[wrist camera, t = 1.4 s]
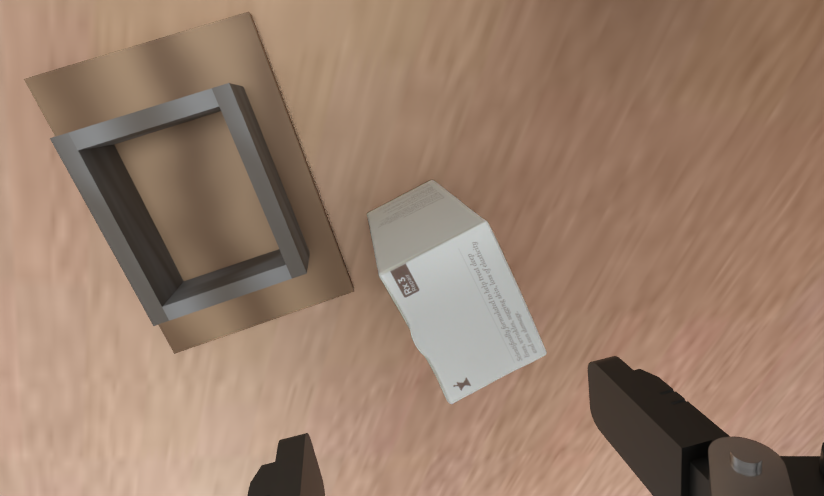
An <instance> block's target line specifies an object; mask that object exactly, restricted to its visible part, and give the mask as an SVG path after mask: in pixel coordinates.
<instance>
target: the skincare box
mask: <svg viewBox="0 0 824 496" xmlns="http://www.w3.org/2000/svg"><path fill="white" fill-rule="evenodd" d="M367 217H368V222H369V227H370V232H371V237H372V242H373V247H374V253H375V258H376V264H377V268H378V273H379V277H380V279H381V280H382V282H383V284H384V285H385V287H386V289H387V291H388V292H389V294H390V296H391V297H392V299H393V301H394V303H395V304H396V306H397V308H398V309H399V311H400V313H401V315H402V317H403V318H404V320H405V322H406V324H407V325H408V327H409V329H410V331H411V336H412V339H413V342H414V344H415V346H416V347H417V349H418V350H419V351H420V353H422V354H423V355H424V356H425V358H426V359H427V361H428V363H429V365H430V366H431V368H432V370H433V372H434V374H435V376H436V378H437V380H438V382H439V384H440V386H441V388H442V391H443V393H444V395H445V397H446V399H447V401H448V402H449V403H450V404H453V403H455V402H457V401H459V400H460V399H462V398H464V397H466V396H468V395H470V394H472V393H474V392H475V391H477V390H479V389H481V388H483V387H485V386H487V385H488V384H490V383H492V382H494V381H496V380H498V379H499V378H501V377H503V376H505V375H507V374H509V373H511V372H513V371H515V370H517V369H519V368H521V367H523V366H525V365H527V364H530V363H532V362H534V361H535V360H537V359H539V358H541V357H543V356H545V355H546V350H545V347H544V345H543V343H542V340H541V338H540V335H539V333H538V331H537V328H536V326H535V324H534V321H533V319H532V317H531V314H530V312H529V310H528V307H527V305H526V303H525V301H524V298H523V296H522V294H521V292H520V289H519V287H518V285H517V283H516V281H515V279H514V276H513V274H512V272H511V270H510V268H509V266H508V263H507V261H506V259H505V257H504V255H503V252H502V250H501V248H500V246H499V244H498V242H497V240H496V238H495V235H494V233H493V231H492V229H491V227H490V225H489V224H488V222H487V221H486V220H484V219H483V218H482V217H480V216H479V215H478V214H476V213H475V212H474V211H472V210H471V209H469V208H468V207H467V206H466V205H465V204H463V203H462V202H461V201H460V200H459V199H457V198H456V197H455V196H453V195H452V194H451V193H450V192H448V191H447V190H446V189H445V188H443V187H442V186H441V185H439V184H438V183H437V182H435V181H434V180H430V181H428V182H426V183H424V184H422V185H420V186H419V187H417V188H415V189H413V190H411V191H409V192H407V193H405V194H403V195H401V196H399V197H397V198H395V199H394V200H392V201H390V202H388V203H386V204H384V205H382V206H380V207H378V208H376V209H374V210H372V211H370V212H368V213H367Z"/></svg>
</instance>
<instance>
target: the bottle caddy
mask: <svg viewBox="0 0 824 496" xmlns="http://www.w3.org/2000/svg"><path fill="white" fill-rule="evenodd" d="M24 80H25V82H26V84H27V86H28V87H29V89H30V91H31V93H32V95H33V97H34V98H35V100H36V102H37V104H38V106H39V107H40V109H41V111H42V113H43V115H44V117H45V118H46V120H47V122H48V124H49V126H50V128H51V129H52V131H53V133H54V135H55V137H53V138H50V139H51V141H52V143H53V145H54V147H55V148H56V150H57V152H58V154H59V156H60V157H61V159H62V161H63V163H64V165H65V167H66V168H67V170H68V172H69V174H70V176H71V177H72V179H73V181H74V183H75V185H76V186H77V188H78V190H79V192H80V194H81V195H82V197H83V199H84V201H85V203H86V205H87V206H88V208H89V210H90V212H91V214H92V215H93V217H94V219H95V221H96V223H97V224H98V226H99V228H100V230H101V232H102V233H103V235H104V237H105V239H106V241H107V243H108V244H109V246H110V248H111V250H112V252H113V253H114V255H115V257H116V259H117V261H118V262H119V264H120V266H121V268H122V270H123V271H124V273H125V275H126V277H127V279H128V280H129V282H130V284H131V286H132V288H133V290H134V291H135V293H136V295H137V297H138V299H139V300H140V302H141V304H142V306H143V308H144V309H145V311H146V313H147V315H148V317H149V318H150V320H151V322H152V324H153V326H155V325H159V326H160V328H161V330H162V332H163V334H164V336H165V337H166V339H167V341H168V343H169V345H170V346H171V348H172V350H173V352H174V354H175V353H178V352H181V351H184V350H186V349H189V348H192V347H195V346H198V345H201V344H204V343H207V342H209V341H212V340H215V339H218V338H221V337H224V336H227V335H230V334H232V333H235V332H238V331H241V330H244V329H247V328H250V327H253V326H255V325H258V324H261V323H264V322H267V321H270V320H273V319H276V318H279V317H281V316H284V315H287V314H290V313H293V312H296V311H299V310H302V309H304V308H307V307H310V306H313V305H316V304H319V303H322V302H325V301H327V300H330V299H333V298H336V297H339V296H342V295H345V294H348V293H350V292H353V291H354V289H353V285H352V282H351V279H350V277H349V274H348V271H347V269H346V266H345V263H344V261H343V258H342V255H341V253H340V250H339V247H338V245H337V242H336V239H335V237H334V234H333V231H332V229H331V226H330V223H329V221H328V218H327V215H326V213H325V210H324V207H323V205H322V202H321V199H320V197H319V194H318V191H317V189H316V186H315V183H314V181H313V178H312V175H311V173H310V170H309V167H308V165H307V162H306V159H305V157H304V154H303V151H302V149H301V146H300V143H299V141H298V138H297V135H296V133H295V130H294V127H293V125H292V122H291V119H290V117H289V114H288V111H287V109H286V106H285V103H284V101H283V98H282V95H281V93H280V90H279V87H278V85H277V82H276V79H275V77H274V74H273V71H272V69H271V66H270V63H269V61H268V58H267V55H266V53H265V50H264V47H263V45H262V42H261V39H260V37H259V34H258V31H257V29H256V26H255V23H254V21H253V18H252V15H251V14H250V13H249V12H246V13H243V14H239V15H236V16H233V17H229V18H226V19H223V20H219V21H216V22H213V23H209V24H206V25H203V26H199V27H196V28H193V29H189V30H186V31H183V32H179V33H176V34H173V35H169V36H166V37H163V38H159V39H156V40H153V41H149V42H146V43H143V44H139V45H136V46H133V47H129V48H126V49H123V50H119V51H116V52H113V53H109V54H106V55H103V56H99V57H96V58H93V59H89V60H86V61H83V62H79V63H76V64H73V65H69V66H66V67H63V68H59V69H56V70H53V71H49V72H46V73H42V74H39V75H36V76H32V77H29V78H26V79H24Z"/></svg>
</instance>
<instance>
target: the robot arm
mask: <svg viewBox="0 0 824 496" xmlns="http://www.w3.org/2000/svg"><path fill="white" fill-rule="evenodd" d="M588 381H589V398H590V410H591V414H592V417H593V419H594V422H595V424H596V426H597V427H598V429H599V430H600V431H601V433H602V434H603V435H604V436H605V438H606V439H607V440H608V441H609V442H610V444H611V445H612V446H613V447H614V449H615V450H616V451H617V452H618V453H619V455H620V456H621V457H622V458H623V460H624V461H625V462H626V463H627V464H628V466H629V467H630V468H631V469H632V470H633V472H634V473H635V474H636V475H637V477H638V478H639V479H640V480H641V481H642V483H643V484H644V485H645V486H646V488H647V489H648V490H649V491H650V492H651V494H652V495H653V496H824V443H823V445H822V449H821V456H779V455H778V454H777V453H776V452H774V451H773V450H772V449H770V448H769V447H767V446H765V445H763V444H761V443H759V442H756V441H754V440H751V439H747V438H742V437H730V436H729V435H728V434H726V433H725V432H724V431H723V430H721V429H720V428H719V427H718V426H717V425H715V424H714V423H713V422H712V421H711V420H709V419H708V418H707V417H706V416H705V415H703V414H702V413H701V412H700V411H699V410H697V409H696V408H695V407H694V406H693V405H691V404H690V403H689V402H688V401H687V402H686V401H685V399H684V398H683V397H682V396H681V395H679V394H678V393H677V392H674V391H673V389H672V388H671V387H670V386H669V385H667V384H666V383H665V382H664V381H663V380H661V379H660V378H659V377H657V376H655V375H652V374H650V373H648V372H646V371H643V370H641V369H637V370H632V369H631V368H630V367H629V366H628V365H627V364H626V363H624V362H623V361H622V360H621V359H620V358H619V357H617V356H613V357H609V358H605V359H601V360H597V361H593V362H590V363H589V365H588ZM248 496H325V491H324V485H323V480H322V476H321V472H320V469H319V466H318V462H317V459H316V456H315V452H314V449H313V446H312V442H311V439H310V436H309V434H308V433H305V434H302V435H298V436H294V437H290V438H286V439H282V440H280V441H279V443H278V448H277V454H276V460H275V462H273V463H269V464H265V465H262V466H261V467H260V469H259V470H258V472H257V474H256V475H255V477H254V478H253V480H252V481H251V483H250V487H249V491H248Z"/></svg>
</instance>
